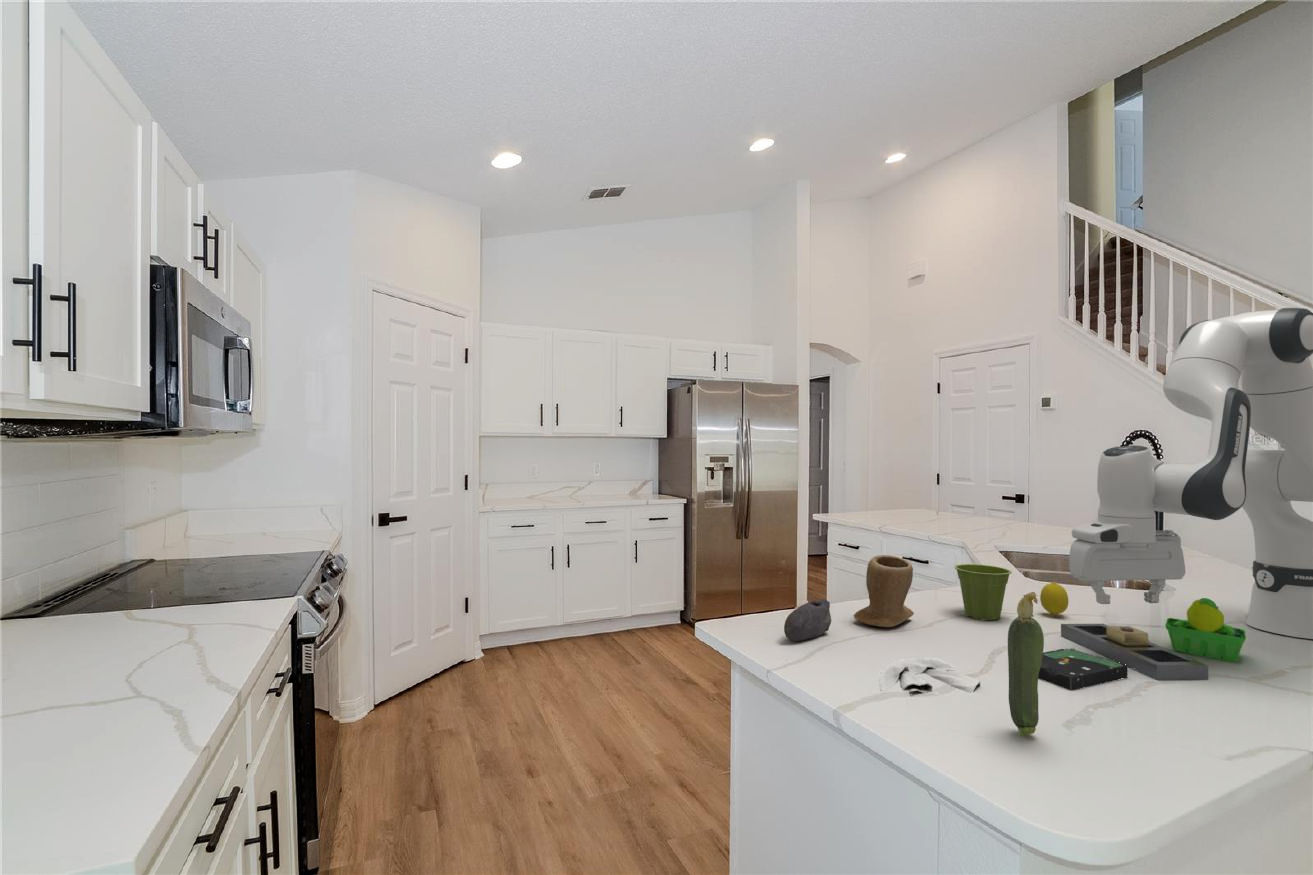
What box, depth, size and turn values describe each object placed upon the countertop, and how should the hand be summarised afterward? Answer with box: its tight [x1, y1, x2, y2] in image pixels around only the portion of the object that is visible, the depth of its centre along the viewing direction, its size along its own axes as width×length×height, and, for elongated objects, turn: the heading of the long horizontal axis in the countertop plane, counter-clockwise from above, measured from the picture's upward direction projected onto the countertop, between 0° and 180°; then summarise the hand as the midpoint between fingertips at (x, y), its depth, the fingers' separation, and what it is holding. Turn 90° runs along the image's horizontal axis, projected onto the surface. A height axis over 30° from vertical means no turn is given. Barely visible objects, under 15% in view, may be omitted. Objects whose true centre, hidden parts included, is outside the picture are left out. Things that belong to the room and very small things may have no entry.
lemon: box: [1039, 581, 1069, 617], centre depth 143 cm, size 6×6×8 cm
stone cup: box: [853, 554, 915, 628], centre depth 138 cm, size 15×12×15 cm
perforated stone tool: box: [783, 598, 832, 642], centre depth 128 cm, size 15×5×7 cm, turn 130°
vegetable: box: [1007, 591, 1045, 738], centre depth 85 cm, size 4×4×20 cm
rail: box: [1060, 623, 1209, 681], centre depth 117 cm, size 9×24×2 cm, turn 1°
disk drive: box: [1038, 648, 1129, 691], centre depth 108 cm, size 10×3×15 cm
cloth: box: [878, 657, 981, 697], centre depth 104 cm, size 20×22×2 cm
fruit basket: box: [1164, 597, 1247, 663], centre depth 118 cm, size 11×9×11 cm
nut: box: [1107, 625, 1149, 648], centre depth 117 cm, size 4×4×5 cm
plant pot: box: [954, 563, 1013, 621], centre depth 143 cm, size 12×12×11 cm
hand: (1127, 603), depth 117 cm, fingers open, 8 cm apart
